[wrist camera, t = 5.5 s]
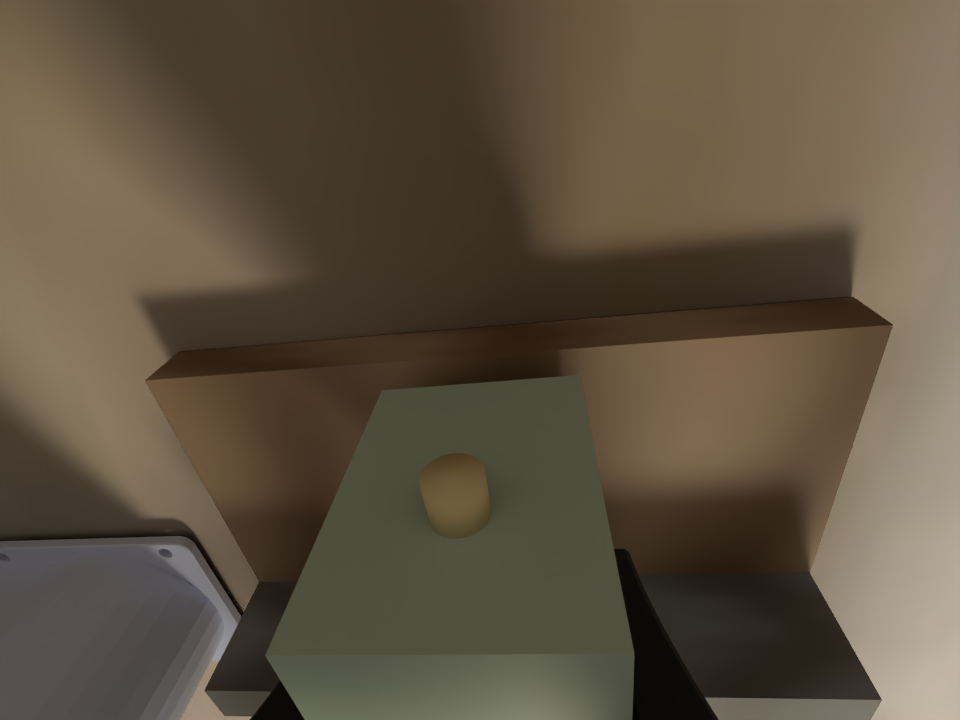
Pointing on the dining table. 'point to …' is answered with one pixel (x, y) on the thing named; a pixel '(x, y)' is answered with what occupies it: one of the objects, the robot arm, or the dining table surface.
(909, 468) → the dining table surface
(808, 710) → the cleat wall
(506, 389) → the mini cabinet
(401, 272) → the dining table surface
